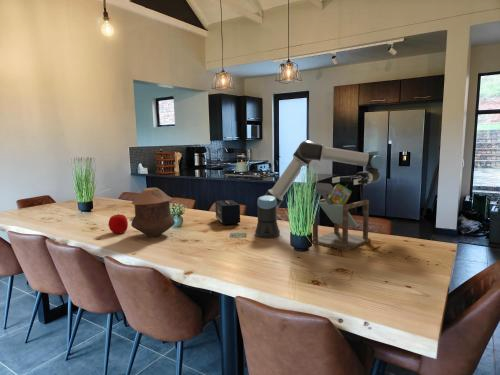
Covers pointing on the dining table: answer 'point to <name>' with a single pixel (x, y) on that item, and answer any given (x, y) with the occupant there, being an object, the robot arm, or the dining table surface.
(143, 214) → the pottery vessel
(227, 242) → the dining table surface
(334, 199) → the chalk box
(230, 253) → the dining table surface
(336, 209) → the trapdoor
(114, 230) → the tomato
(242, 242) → the dining table surface
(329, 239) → the stand
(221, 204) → the speaker
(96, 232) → the dining table surface
